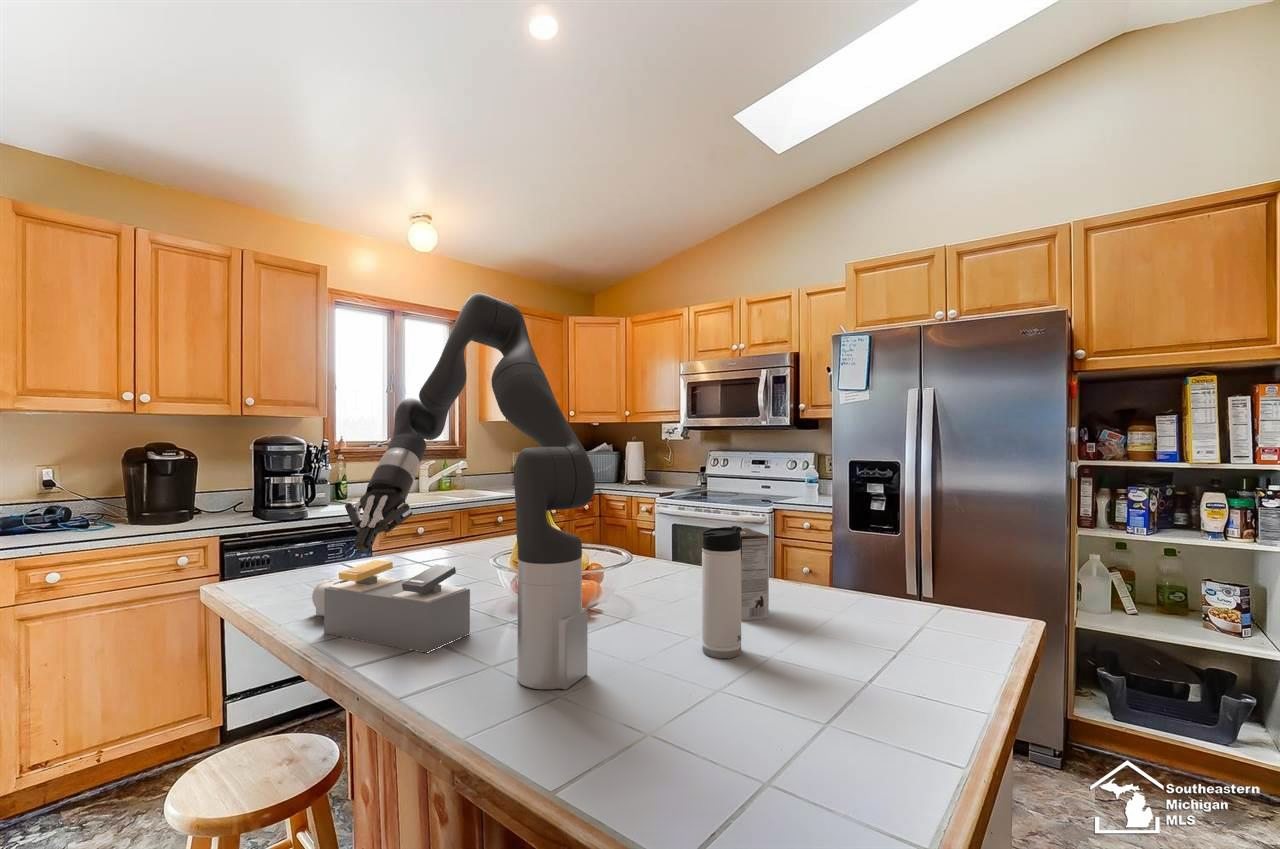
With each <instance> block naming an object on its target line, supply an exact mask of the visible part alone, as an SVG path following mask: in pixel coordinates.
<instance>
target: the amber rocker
mask: <svg viewBox="0 0 1280 849" xmlns="http://www.w3.org/2000/svg"><path fill="white" fill-rule="evenodd" d="M393 564H394V563H393V561H387V560H380V559H379V560H377V559H374V560H372V561H368V562H365V563H362V564H360V565H356V566H354V567H351V568H348V569H346V570H342V571H339V572H338V575H339V579H340V580H348V581H355V582H357V581H360V580H363V579H365V578H368V577H371V576H377V575H379V574H381V573H384V572H387V571H389V570H393V568H394V565H393Z"/></svg>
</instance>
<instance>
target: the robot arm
mask: <svg viewBox="0 0 1280 849" xmlns="http://www.w3.org/2000/svg"><path fill="white" fill-rule="evenodd" d="M528 332H529V331H528V329H527V324H526V322H525V318H524V316H523V314H522V312H521V310H520V309H519V308H518V307H517V306H516V305H514V304H512V303H510V302H507V301H504V300H503V299H499V298H497V297H495V296H494V297H493V295H492V296H491V295H488V294H486V293H483V292H482V293H481V292H476V293H473V294H472V295H470V296H469V297H468V298H467V300H466V301H465V303H464V304H463V305H462V308H461V309H460V311H459V314H458V316H457V318H456V320H455V322H454V324H453V327H452V329H451V332H450V333H449V336H448V338H447V340H446V343H445V345H444V347H443V350H442V352H441V355H440V357H439V360H438V361H437V363H436V364H435V367H434V369H433V370H432V372H431V373H430V374H429V376H428V377H427V379H426V381H425V382H424V384H423V385H422V386H421V388H420V391H419V393H418V399H417V398H414V397H408V398H406V399H404V400H402V401H401V402H400V403H399V404H398V405H397V408H396V411H395V413H394V414H395V415H394V424H393V425H394V426H393V433H392V438H391V440H390V442H389V444H388V445H387V446H388V447H387V448H386V451H385V452H384V454H383V455H382V457H381V458H380V459H379V461H378V464H377V465H376V468H375V470H374V471H373V473H372V476H371V477H370V479H369V481H368V484H367V486H366V491H365V493H364V494H363V495H362V496H361V497H360V498H359V501H358V502H356V503H354V504H352V502H348V503H346V504H345V505H344V508H345V510H346V512H347V514H348V517H349V519H350V522H351V524H352V525H353V527H354V528H355V530H356V532H357V534H356V536H355V538H354V540H353V545H354V546H355V548H356V550H357V551H358V552H368V551H369V549H371V548H372V547H373V545H374V543H375V540H376V538H377V536H378V535H380V533H383V532H384V533H386V534H387V533H389V532H391V531H392V530H393V529H395V528H396V527H397V526H399V525H400V524H402V523H403V522H404V521H406V520H407V519H409V518H410V517H411V516H413V511H412V509H411V506H410V505H409V503H406V500H407V498H408V495H409V494H410V492H411V488H412V487H413V484H414V482H415V480H416V477H417V475H418V471H419V466H420V465H421V462H422V459H423V457H424V455H425V453H426V450H427V442H426V441H432V440H436V439H437V438H439V437H440V436H441V435H442V433H444V432H443V431H444V430H445V429H444V428H445V426H446V423H447V418H448V417H447V416H448V414H449V411H450V408H451V407H452V405H453V404H454V403H455V401H456V400H457V398H458V397H460V396H459V395H460V394H461V393H462V391H463V390H464V388H465V385H466V382H467V367H466V361H465V350H466V347H467V345H468V344H469V343H470V342H471V341H472V342H475V343H478V344H480V345H484V346H488V347H490V348H493V349H495V350H498V351H499V352H500V353H501V355H502V356H503V357H502V358H501V359H500V360H499V361H498V363H497V364H496V365H495V367H494V370H493V371H492V375H491V388H492V391H493V395H494V397H495V400H496V403H497V405H498V409H499V410H500V412H501V414H502V416H503V417H504V418H505V419H506V420H507V421H508V422H509V423H510V424H511V425H513V426H514V427H515V428H517V430H519V431H520V432H522V433H523V434H525V435H526V436H528V437H529V438H530V439H532V440H533V441H534V442H536V443H537V444H539V446H532V447H531V446H530V447H525V448H523V449H522V450H521V451H519V453H518V455H517V457H516V460H515V464H514V475H513V478H514V479H513V481H514V482H513V483H514V485H513V486H514V502H515V523H516V524H515V533H516V534H515V536H516V542H517V543H516V544H517V627H516V628H517V631H516V632H517V635H516V636H517V637H516V638H517V639H516V640H517V644H516V646H517V654H516V655H517V660H516V661H517V662H516V663H517V664H516V665H517V666H516V667H517V671H516V672H517V674H516V675H517V676H516V677H517V681H518V683H519V684H521V685H522V686H523V687H527V688H530V689H535V690H555V689H560V690H567V689H569V688H570V687H572V686H573V685H574V684H575V683H577V682H579V680H582V678H584V677H585V676H586V675H587V674H588V636H589V635H588V626H589V625H588V623H589V622H588V616H589V615H588V609H587V608H586V607H582V606H583V601H582V600H583V588H582V587H583V558H582V557H583V544H582V543H583V542H582V539H581V538H580V536H578V535H576V534H574V533H571V532H566V531H563V530H561V529H560V530H559V529H557V528H556V527H554V526H552V525H551V524H549V522H548V518H547V511H560V510H570V509H571V510H572V509H578V508H581V507H584V506H587V505H588V503H590V502H591V500H593V498H594V493H595V489H596V480H595V472H594V469H593V466H592V463H591V460H590V458H589V455H588V453H587V451H586V450H585V448H584V446H583V444H582V442H581V441H580V440H579V438H578V437H577V435H576V434H575V432H574V430H573V429H572V427H571V425H570V424H569V423H568V420H566V417H565V416H564V413H563V411H562V410H561V408H560V405H559V403H558V401H557V400H556V398H555V395H554V393H553V390H552V387H551V385H550V383H549V380H548V378H547V376H546V374H545V372H544V370H543V368H542V367H541V365H540V362H539V360H538V357H537V356H536V353H535V350H534V348H533V345H532V343H531V339H530V336H529V333H528ZM361 509H362V519H361V520H360V517H359V516H360V515H361Z"/></svg>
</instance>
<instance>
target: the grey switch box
mask: <svg viewBox="0 0 1280 849" xmlns="http://www.w3.org/2000/svg"><path fill="white" fill-rule="evenodd" d="M406 581H407V579H406V580H404V579H400V578H393V577H388V578H386V576H377V575H374V576H371V577H368V578H365V579H363V580H360V581H357V582H355V581H347V582H344V583H338V584H335V585H332V586H329V587H327V588H324V616H323V634H325V635H331V636H334V635H336V637H339V636H341V637H340V638H345V637H347V638H346V639H350V638H354V639H353V640H355V639H358V640H357V641H360V640H363V641H362V642H365V641H368V642H367V643H370V642H372V643H371V644H376V643H377V644H376V645H381V644H382V646H386V645H387V647H391V646H392V648H396V647H397V648H398V649H402V648H405V649H404V650H407V649H412V650H418V651H423V652H429V651H431V650H433V649H436V648H438V647H440V646H442V645H444V644H447V643H449V642H451V641H454V640H456V639H458V638H460V637H463V636H465V635H467V634H469V633H471V628H470V627H471V625H470V624H471V623H470V622H471V588H466V587H462V586H457V585H448V584H447V585H446V584H440V583H439V584H437V585H436V586H434V587H433V588H431V589H429V590H428V591H426V592H424V593H417V592H410V591H403V588H402V583H404V582H406ZM465 637H466V636H465ZM463 638H464V637H463ZM454 642H455V641H454ZM412 650H411V651H412Z"/></svg>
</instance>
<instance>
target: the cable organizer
mask: <svg viewBox="0 0 1280 849" xmlns="http://www.w3.org/2000/svg"><path fill="white" fill-rule="evenodd" d="M385 577H386V576H385ZM386 578H389V577H386ZM347 581H348V580H340V579H339V574H338V575H335V576H332V577H329V578H326V579H323V580H322V581H321V582H319V583H317V585H316V586H315V587H314V589H313V591H312V595H311V599H312V603H313V605H314V607H315V615H316V616H318V617H319V616H320V617H324V588H327V587H329V586H332V585H336V584H340V583H344V582H347Z"/></svg>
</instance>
